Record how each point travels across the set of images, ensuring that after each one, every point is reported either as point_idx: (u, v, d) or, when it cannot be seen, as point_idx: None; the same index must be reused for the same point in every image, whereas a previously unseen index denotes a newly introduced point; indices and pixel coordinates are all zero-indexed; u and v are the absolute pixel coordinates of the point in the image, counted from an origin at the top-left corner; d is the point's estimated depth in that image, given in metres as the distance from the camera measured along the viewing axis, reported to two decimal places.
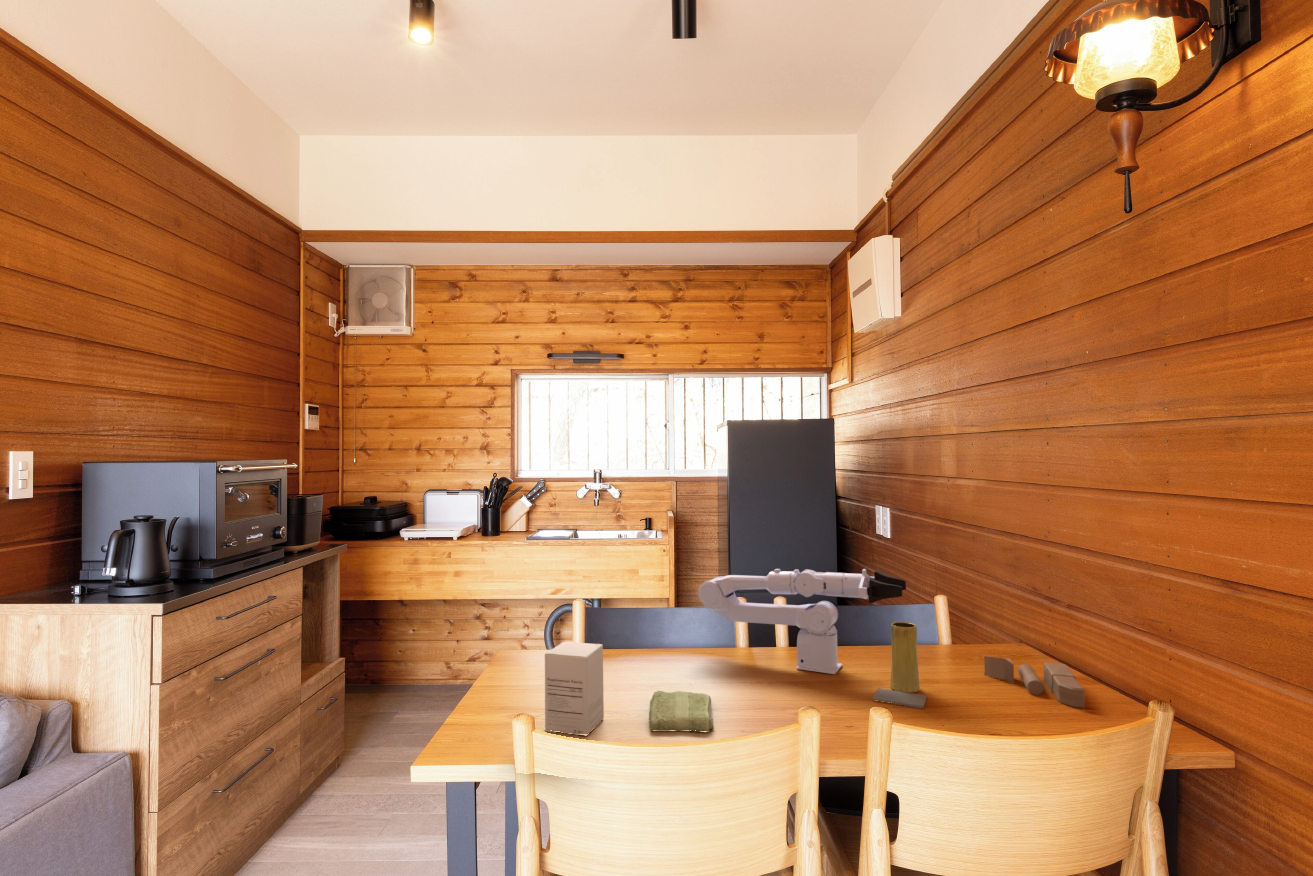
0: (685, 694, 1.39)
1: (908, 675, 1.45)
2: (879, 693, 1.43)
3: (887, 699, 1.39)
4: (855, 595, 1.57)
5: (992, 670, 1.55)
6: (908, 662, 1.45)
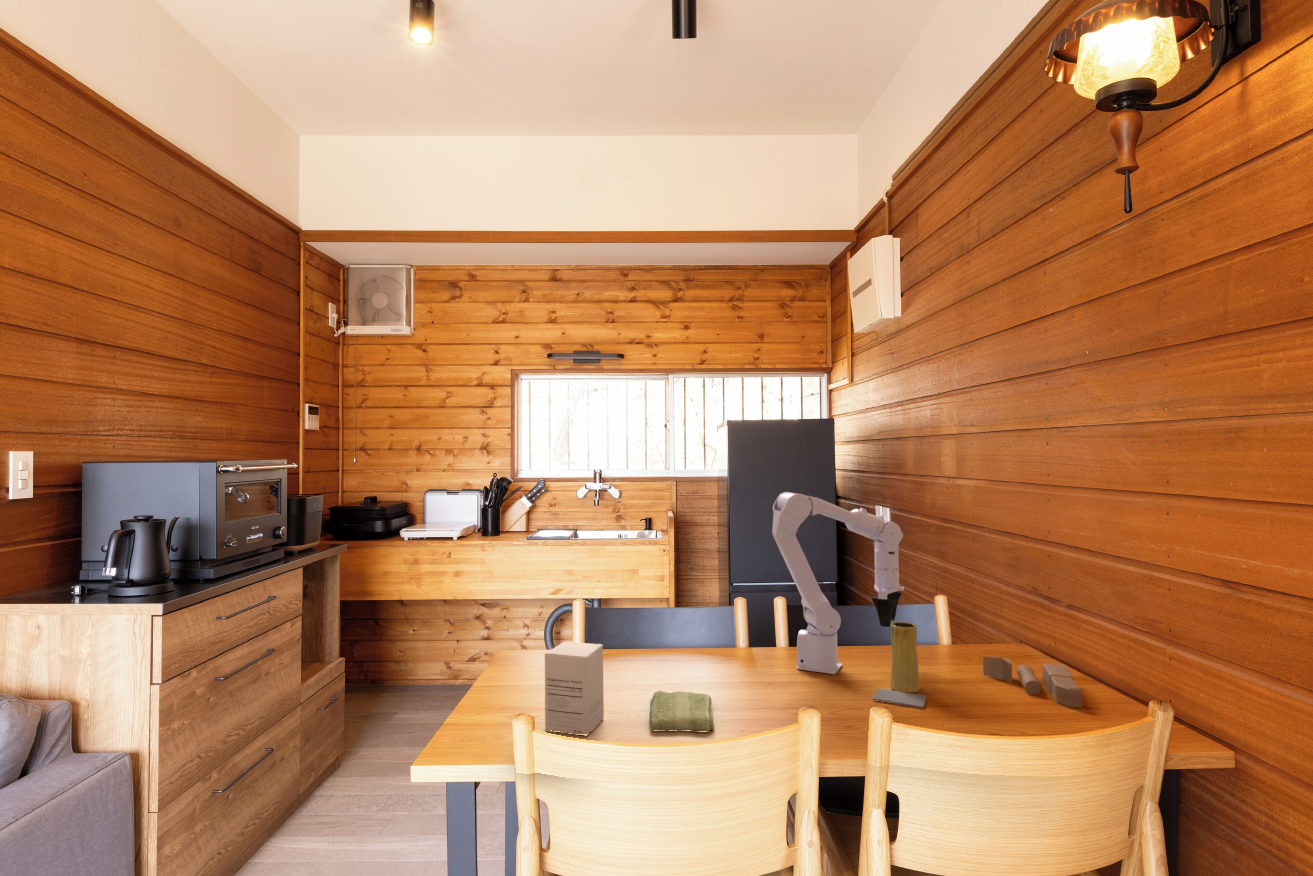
0: (685, 694, 1.38)
1: (908, 675, 1.45)
2: (879, 693, 1.43)
3: (887, 699, 1.39)
4: (877, 580, 1.64)
5: (990, 670, 1.55)
6: (908, 662, 1.45)
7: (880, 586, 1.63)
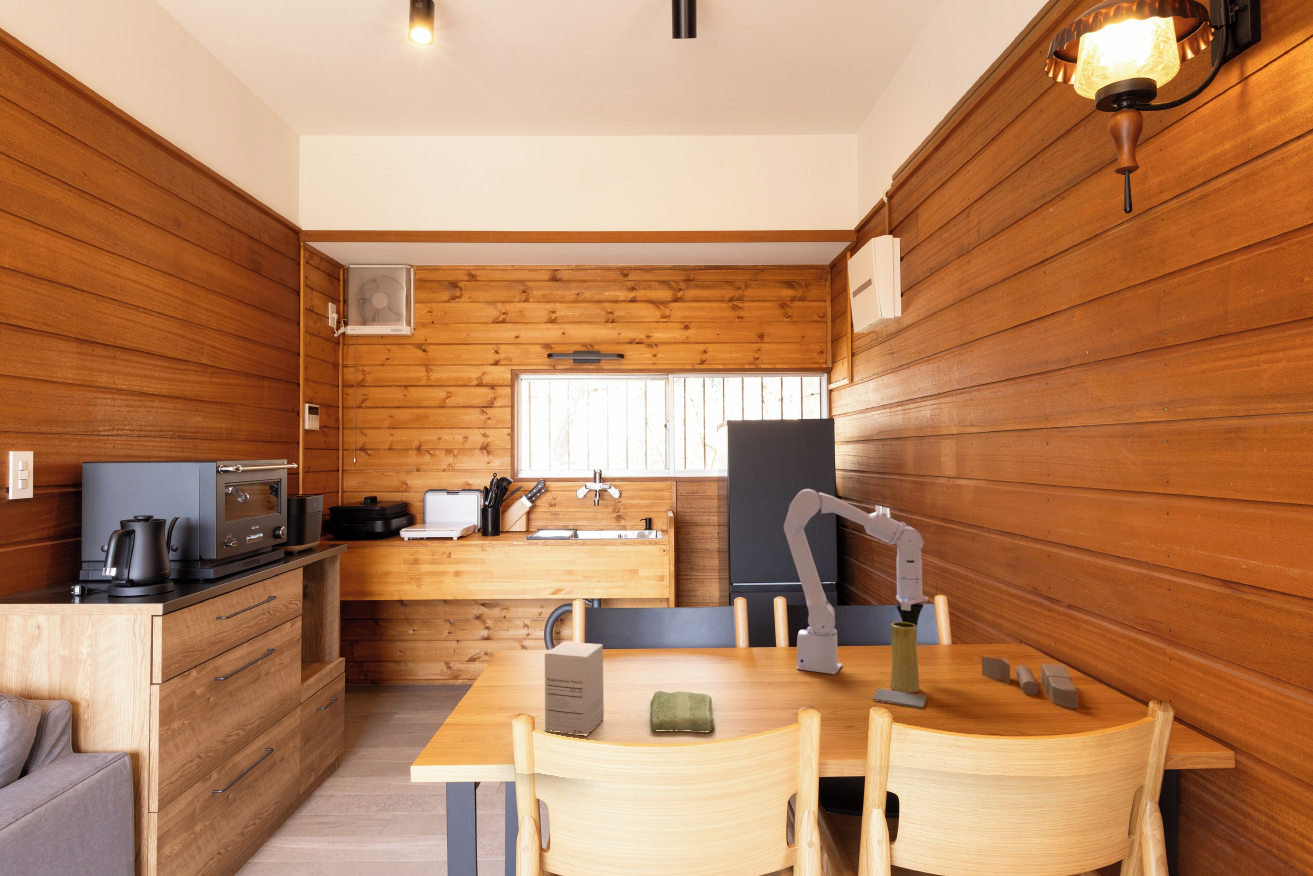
0: (686, 694, 1.38)
1: (908, 675, 1.45)
2: (879, 693, 1.43)
3: (887, 699, 1.39)
4: (899, 590, 1.57)
5: (989, 670, 1.55)
6: (908, 662, 1.45)
7: (903, 596, 1.56)
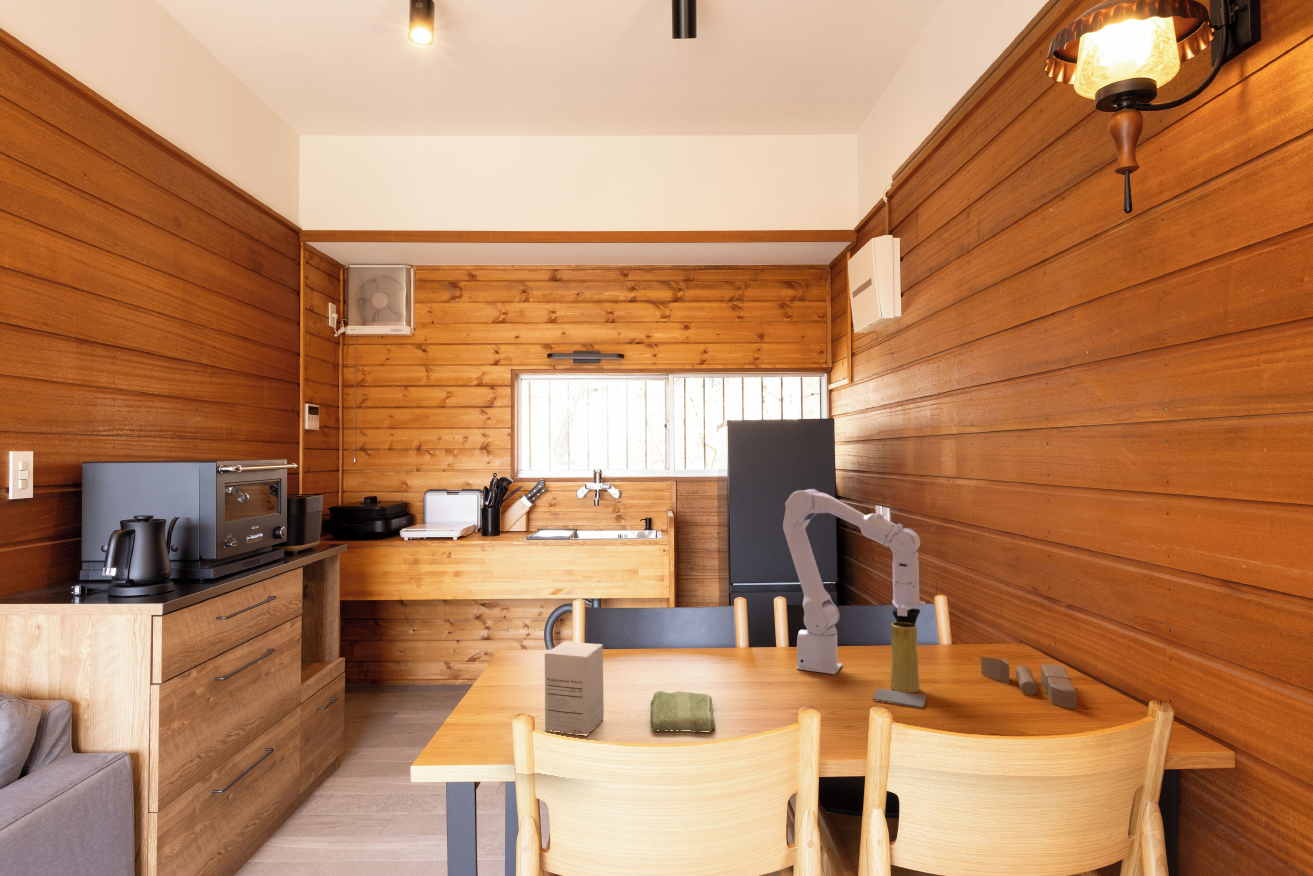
0: (686, 694, 1.38)
1: (908, 675, 1.45)
2: (879, 693, 1.43)
3: (887, 699, 1.39)
4: (895, 594, 1.51)
5: (988, 671, 1.55)
6: (908, 662, 1.45)
7: (899, 601, 1.50)
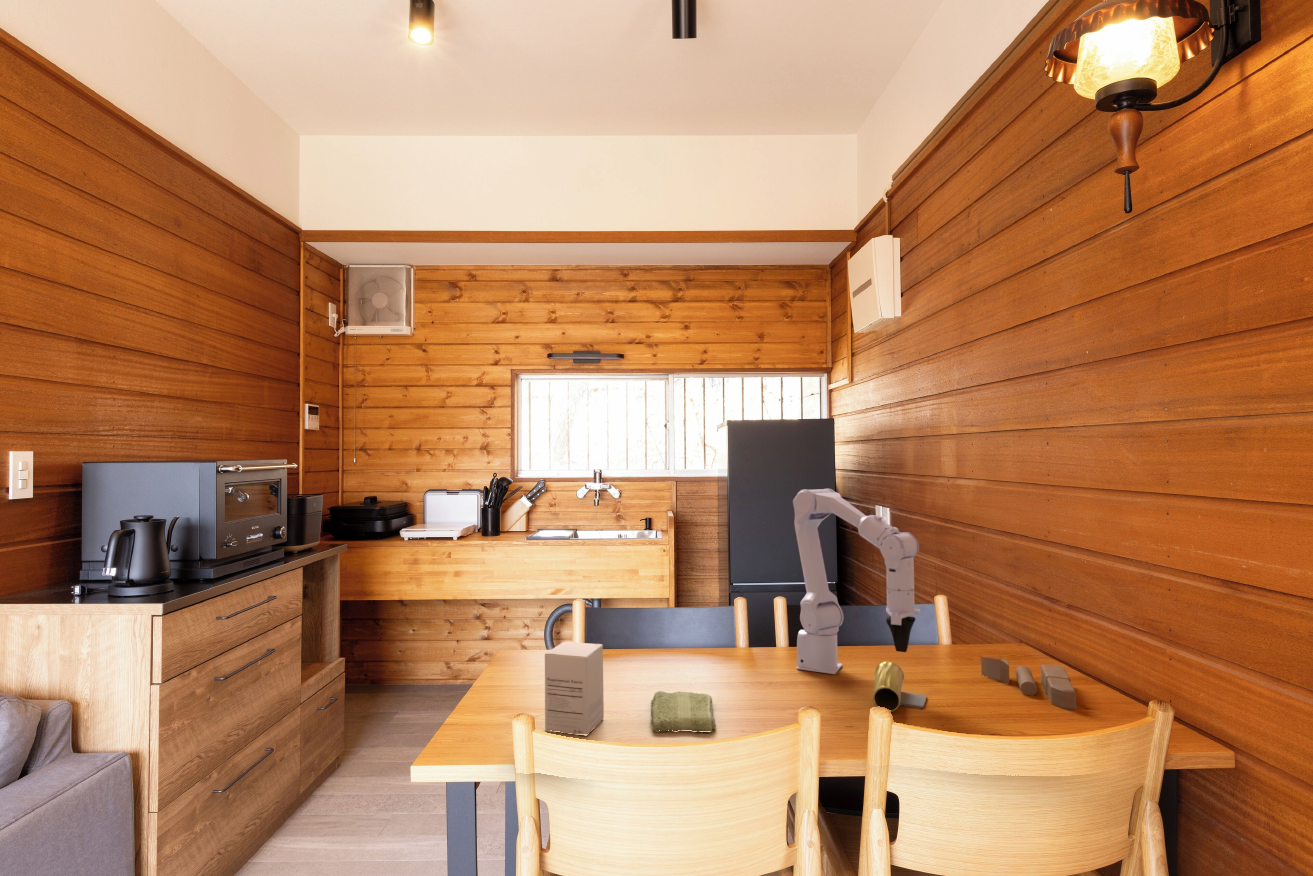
0: (686, 694, 1.38)
1: None
2: None
3: None
4: (889, 602, 1.44)
5: (988, 671, 1.54)
6: None
7: (893, 609, 1.43)
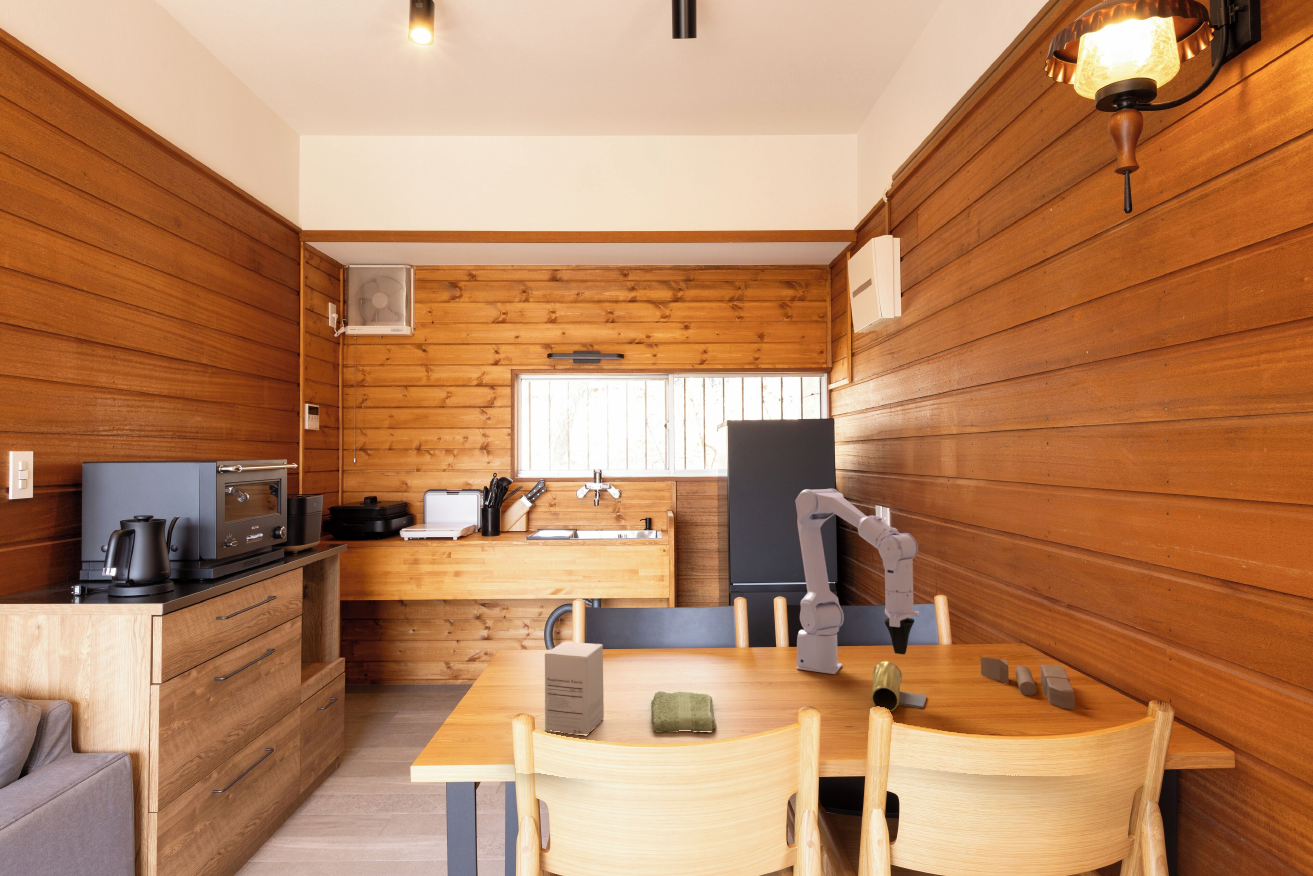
0: (686, 694, 1.38)
1: None
2: None
3: None
4: (888, 603, 1.42)
5: (988, 671, 1.54)
6: None
7: (892, 611, 1.41)
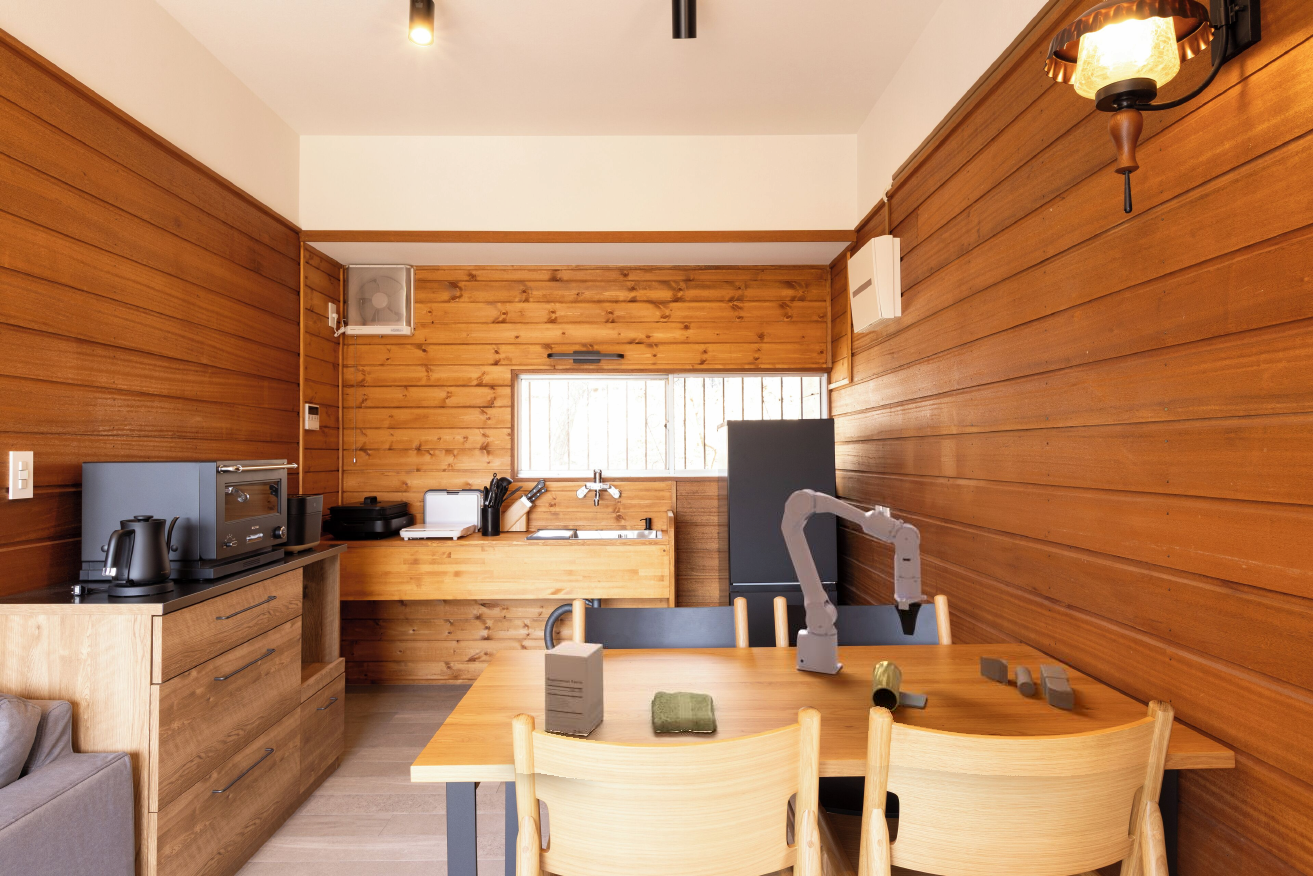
0: (687, 694, 1.38)
1: None
2: None
3: None
4: (897, 589, 1.54)
5: (987, 671, 1.54)
6: None
7: (901, 595, 1.53)
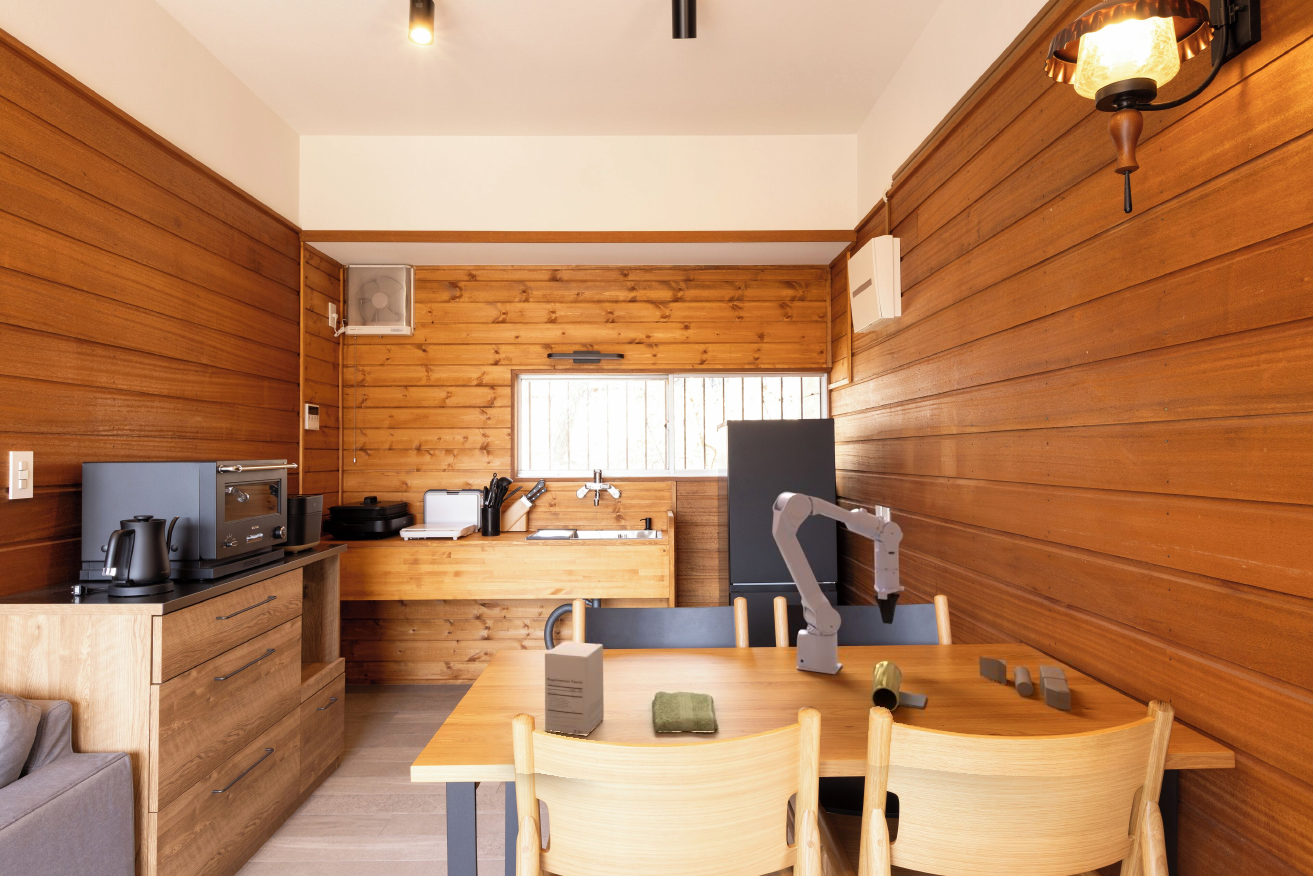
0: (687, 694, 1.38)
1: None
2: None
3: None
4: (877, 580, 1.64)
5: (986, 671, 1.54)
6: None
7: (880, 586, 1.63)
